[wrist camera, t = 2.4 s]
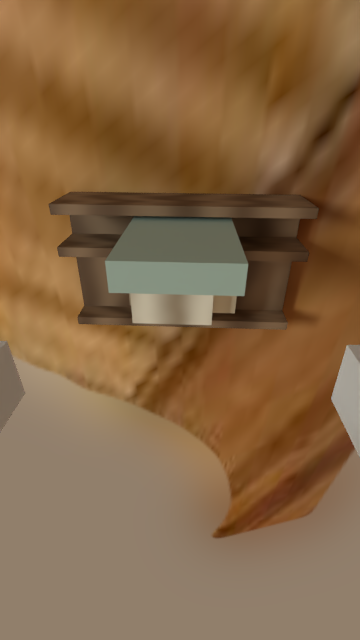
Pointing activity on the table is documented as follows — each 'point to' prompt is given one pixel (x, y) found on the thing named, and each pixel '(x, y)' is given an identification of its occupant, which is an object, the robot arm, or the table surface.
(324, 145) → the table surface
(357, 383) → the robot arm
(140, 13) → the table surface
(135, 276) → the grey-green flat block
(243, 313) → the rack
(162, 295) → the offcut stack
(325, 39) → the table surface
